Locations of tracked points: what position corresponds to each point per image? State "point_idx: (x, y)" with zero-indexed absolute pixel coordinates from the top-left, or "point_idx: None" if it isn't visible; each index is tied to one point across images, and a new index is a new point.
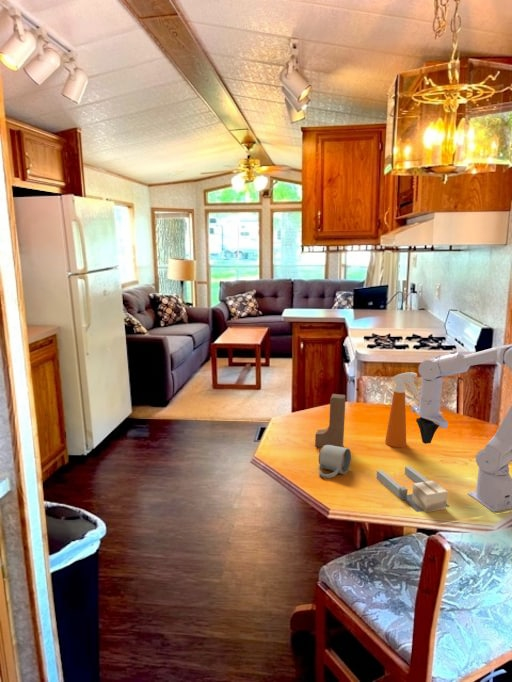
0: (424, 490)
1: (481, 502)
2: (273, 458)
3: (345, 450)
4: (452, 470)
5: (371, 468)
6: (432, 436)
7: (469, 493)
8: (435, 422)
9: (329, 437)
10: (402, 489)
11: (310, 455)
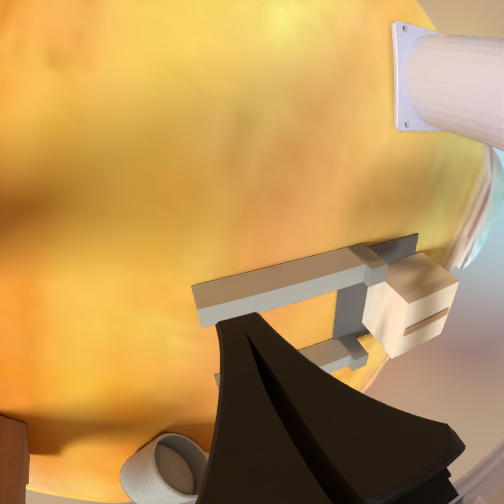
0: (427, 337)
1: (443, 131)
2: (116, 495)
3: (196, 496)
4: (182, 49)
5: (143, 387)
6: (295, 354)
7: (403, 130)
8: (466, 487)
9: (26, 468)
10: (364, 365)
11: (84, 467)
